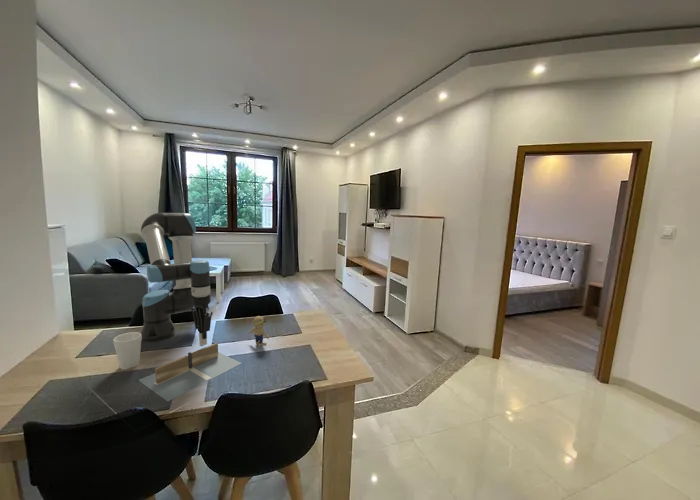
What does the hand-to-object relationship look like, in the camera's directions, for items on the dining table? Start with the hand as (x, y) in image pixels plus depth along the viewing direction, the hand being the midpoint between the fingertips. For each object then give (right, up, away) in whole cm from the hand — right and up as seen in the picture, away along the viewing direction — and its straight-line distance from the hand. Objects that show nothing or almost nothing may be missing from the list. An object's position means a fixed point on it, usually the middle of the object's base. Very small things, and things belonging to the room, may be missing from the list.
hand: (203, 344), depth 132 cm
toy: (+22, -5, +14) cm, 26 cm away
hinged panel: (+3, -6, -5) cm, 8 cm away
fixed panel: (-4, -7, -16) cm, 18 cm away
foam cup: (-27, -6, -9) cm, 29 cm away
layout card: (+2, -7, -12) cm, 14 cm away
